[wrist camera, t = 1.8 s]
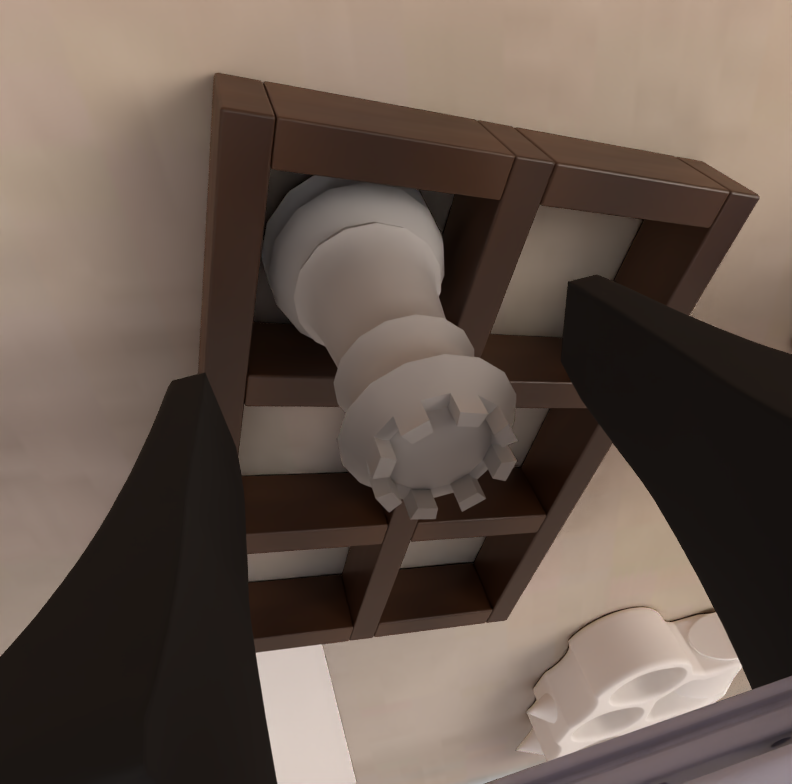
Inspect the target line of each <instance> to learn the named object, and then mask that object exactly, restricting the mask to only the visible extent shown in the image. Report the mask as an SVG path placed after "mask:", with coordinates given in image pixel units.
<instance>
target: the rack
mask: <svg viewBox="0 0 792 784" xmlns="http://www.w3.org/2000/svg"><path fill="white" fill-rule="evenodd" d="M270 168H272V169H273V170H280V171H288V172H295V173H303V174H310V175H317V176H325V177H332V178H340V179H347V180H354V181H362V182H369V183H376V184H384V185H391V186H399V187H406V188H413V189H421V190H428V191H436V192H443V193H450V194H455V196H454V199H453V203H452V206H451V210H450V213H449V216H448V220H447V223H446V226H445V230H444V233H443V247H444V278H443V280H442V283H441V292H440V295H439V299H440V302H441V305H442V309H443V312H444V315H445V318H446V320H447V321H449V322H451V323H452V324H454V325H456V326H457V327H459V328H460V329H462V330H464V332H465V334H466V335H467V337H468V339H469V341H470V343H471V344H472V346H473V348H474V357H479V358H481V359H483V360H484V361H486V362H488V363H489V364H491V365H493V366H495V367H496V368H498V369H500V370H501V371H503V372H505V374H506V376H507V378H508V380H509V382H510V384H511V386H512V387H513V389H514V391H515V393H516V407H515V408H550V411H549V413H548V415H547V417H546V419H545V421H544V423H543V425H542V427H541V429H540V431H539V433H538V435H537V437H536V439H535V441H534V443H533V445H532V447H531V449H530V451H529V453H528V455H527V457H526V459H525V461H524V463H523V465H522V467H521V468H513V469H512V471H511V472H510V474H509V476H508V478H507V479H506V481H503V480H497V479H493V478H492V476H491V474H490V472H489V470H487V471H486V472H485V473H484V474H483V475H481V476H480V477H479V478H478V479H477V480H478V482H479V485H480V487H481V489H482V491H483V493H484V495H485V497H486V499H485V500H483V501H481V502H479V503H477V504H476V505H474V506H472V507H470V508H468V509H466V510H465V511H463V512H462V511H461V508H460V506H459V504H458V502H457V499H456V497H455V495H454V493H450V494H446V495H442V496H439V497H435V498H434V500H435V502H436V505H437V507H438V511H437V515H436V519H410V518H409V515H408V512H407V509H406V506H405V503H404V501H403V499H401V498H400V499H401V501H402V503H401V504H400V505H398V506H397V507H396V508H394V509H393V510H392V511H390V512H388V511H387V510H386V509H385V508H384V507H383V506H382V505H381V504H380V503H379V502H378V501H377V500H376V499H375V495H374V492H373V489H372V488H371V487H369V486H367V485H364V484H362V483H360V482H359V481H358V480H357V479H356V478H355V477H354V476H353V475H352V474H351V473H329V474H298V475H267V476H242V482H243V488H244V497H245V517H246V540H247V554H254V553H267V552H281V551H294V550H308V549H321V548H335V547H348V546H350V550H349V553H348V556H347V560H346V563H345V566H344V570H343V573H342V575H341V574H340V575H329V576H318V577H307V578H295V579H284V580H273V581H262V582H251V583H248V589H249V605H250V616H251V624H252V631H253V638H254V645H255V652H256V653H258V652H266V651H274V650H281V649H289V648H297V647H305V646H313V645H320V644H328V643H336V642H344V641H349V640H358V639H366V638H372V637H373V636H374V637H380V636H387V635H395V634H403V633H411V632H419V631H427V630H434V629H442V628H450V627H458V626H466V625H473V624H481V623H485V622H487V623H489V622H497V621H505V620H507V618H508V617H509V615H510V613H511V612H512V610H513V608H514V607H515V605H516V603H517V602H518V600H519V598H520V597H521V595H522V593H523V592H524V590H525V588H526V587H527V585H528V583H529V582H530V580H531V578H532V577H533V575H534V573H535V572H536V570H537V568H538V567H539V565H540V563H541V562H542V560H543V558H544V557H545V555H546V553H547V552H548V550H549V548H550V547H551V545H552V543H553V542H554V540H555V538H556V537H557V535H558V533H559V532H560V530H561V528H562V527H563V525H564V523H565V522H566V520H567V518H568V517H569V515H570V513H571V512H572V510H573V508H574V507H575V505H576V503H577V502H578V500H579V498H580V497H581V495H582V493H583V492H584V490H585V488H586V487H587V485H588V483H589V482H590V480H591V478H592V477H593V475H594V473H595V472H596V470H597V468H598V467H599V465H600V463H601V462H602V460H603V458H604V457H605V455H606V453H607V452H608V450H609V448H610V447H611V445H612V443H613V442H612V441H611V440H610V438H609V437H608V436H607V434H606V433H605V432H604V430H603V429H602V428H601V426H600V425H599V424H598V422H597V421H596V420H595V418H594V417H593V415H592V414H591V413H590V411H589V410H588V409H587V407H586V406H585V404H584V403H583V402H582V400H581V398H580V397H579V395H578V393H577V391H576V389H575V388H574V386H573V384H572V382H571V380H570V378H569V376H568V375H567V373H566V371H565V369H564V367H563V365H562V363H561V350H562V340H563V338H556V337H537V336H517V335H498V334H490V332H491V329H492V327H493V324H494V322H495V319H496V316H497V314H498V311H499V309H500V306H501V303H502V301H503V298H504V296H505V293H506V290H507V288H508V285H509V283H510V280H511V277H512V275H513V272H514V269H515V267H516V264H517V262H518V259H519V256H520V254H521V251H522V249H523V246H524V243H525V241H526V238H527V236H528V233H529V230H530V228H531V225H532V223H533V220H534V217H535V215H536V212H537V210H538V207H539V204H540V205H542V206H549V207H556V208H564V209H571V210H579V211H586V212H593V213H601V214H608V215H616V216H623V217H630V218H638V219H644V221H643V223H642V225H641V227H640V229H639V231H638V233H637V235H636V237H635V239H634V241H633V243H632V245H631V247H630V249H629V251H628V253H627V255H626V257H625V259H624V261H623V263H622V265H621V267H620V269H619V271H618V274H617V276H616V278H615V280H614V282H616V283H618V284H621V285H623V286H625V287H627V288H629V289H632V290H634V291H636V292H638V293H640V294H642V295H645V296H647V297H649V298H651V299H653V300H655V301H657V302H660V303H662V304H664V305H666V306H668V307H671V308H673V309H675V310H677V311H679V312H682V313H684V314H686V315H688V316H689V315H690V313H691V312H692V310H693V308H694V307H695V305H696V303H697V302H698V300H699V298H700V297H701V295H702V293H703V292H704V290H705V288H706V287H707V285H708V283H709V282H710V280H711V278H712V277H713V275H714V273H715V272H716V270H717V268H718V267H719V265H720V263H721V262H722V260H723V258H724V257H725V255H726V253H727V252H728V250H729V248H730V247H731V245H732V243H733V242H734V240H735V238H736V237H737V235H738V233H739V232H740V230H741V228H742V227H743V225H744V223H745V222H746V220H747V218H748V217H749V215H750V213H751V212H752V210H753V208H754V207H755V205H756V203H757V202H758V200H759V196H758V195H757V194H756V193H754V192H752V191H751V190H749V189H747V188H746V187H744V186H742V185H741V184H739V183H737V182H736V181H734V180H732V179H731V178H729V177H727V176H726V175H724V174H722V173H721V172H719V171H717V170H716V169H714V168H712V167H711V166H709V165H707V164H706V163H704V162H702V161H697V160H691V159H686V158H680V157H674V156H670V155H664V154H659V153H653V152H648V151H642V150H637V149H631V148H626V147H620V146H615V145H609V144H604V143H598V142H593V141H588V140H582V139H577V138H571V137H566V136H560V135H555V134H549V133H544V132H538V131H533V130H527V129H522V128H513V127H512V126H506V125H501V124H495V123H490V122H484V121H476V120H474V119H468V118H463V117H458V116H452V115H447V114H441V113H436V112H430V111H425V110H419V109H414V108H408V107H403V106H397V105H392V104H386V103H381V102H375V101H370V100H365V99H359V98H354V97H348V96H343V95H337V94H332V93H326V92H321V91H315V90H310V89H304V88H299V87H293V86H288V85H282V84H277V83H272V82H264V83H263V82H261V81H259V80H254V79H248V78H243V77H237V76H232V75H226V74H221V73H215V75H214V80H213V99H212V118H211V137H210V156H209V175H208V194H207V213H206V232H205V251H204V270H203V289H202V308H201V327H200V346H199V365H198V374H201V373H206V375H207V378H208V380H209V382H210V385H211V387H212V390H213V392H214V394H215V397H216V399H217V402H218V404H219V407H220V409H221V411H222V414H223V416H224V419H225V421H226V423H227V426H228V428H229V431H230V433H231V435H232V438H233V440H234V443H235V445H236V448H237V453H238V454H239V445H240V436H241V427H242V418H243V409H244V404H245V405H246V406H316V407H340V406H339V405H338V403H337V398H336V393H335V388H334V379H335V376H336V373H337V369H338V368H337V366H336V364H335V363H334V361H333V359H332V357H331V356H330V354H329V352H328V350H327V348H326V347H325V346H323V345H321V344H319V343H317V342H315V341H314V340H313V339H312V338H310V337H308V336H306V335H304V334H302V333H300V332H299V331H298V329H297V328H296V327H295V326H294V325H293V324H278V323H258V322H253V320H254V311H255V302H256V293H257V284H258V275H259V266H260V257H261V249H262V240H263V231H264V222H265V213H266V204H267V195H268V186H269V177H270ZM481 536H487V537H486V539H485V541H484V543H483V545H482V548H481V550H480V552H479V554H478V556H477V558H476V560H475V562H474V564H473V563H467V564H455V565H444V566H433V567H422V568H411V569H400V566H401V563H402V561H403V558H404V556H405V553H406V550H407V548H408V545H409V543H410V540H411V541H412V542H413V541H427V540H440V539H454V538H467V537H481ZM399 569H400V570H399Z"/></svg>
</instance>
